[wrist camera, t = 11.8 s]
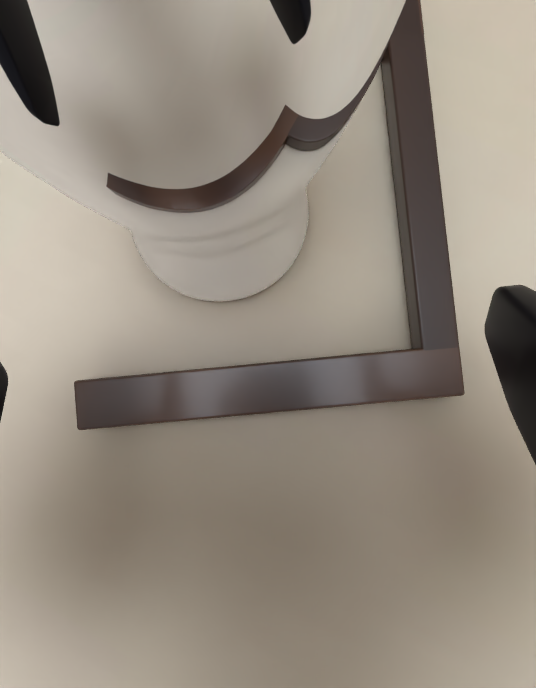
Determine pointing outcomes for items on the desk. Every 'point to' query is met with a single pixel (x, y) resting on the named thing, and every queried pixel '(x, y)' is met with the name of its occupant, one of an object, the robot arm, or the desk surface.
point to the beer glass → (189, 120)
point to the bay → (348, 370)
